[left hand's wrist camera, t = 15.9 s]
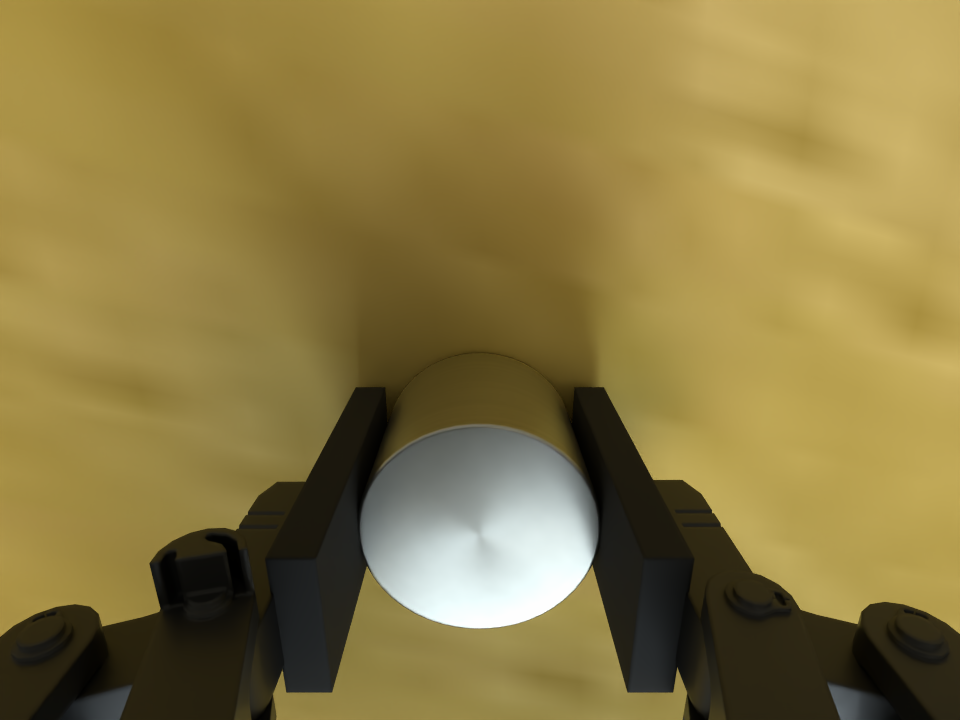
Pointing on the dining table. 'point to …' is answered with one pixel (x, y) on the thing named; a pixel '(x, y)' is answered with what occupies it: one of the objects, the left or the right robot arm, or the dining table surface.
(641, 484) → the left robot arm
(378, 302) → the dining table surface
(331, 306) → the dining table surface
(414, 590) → the canister
